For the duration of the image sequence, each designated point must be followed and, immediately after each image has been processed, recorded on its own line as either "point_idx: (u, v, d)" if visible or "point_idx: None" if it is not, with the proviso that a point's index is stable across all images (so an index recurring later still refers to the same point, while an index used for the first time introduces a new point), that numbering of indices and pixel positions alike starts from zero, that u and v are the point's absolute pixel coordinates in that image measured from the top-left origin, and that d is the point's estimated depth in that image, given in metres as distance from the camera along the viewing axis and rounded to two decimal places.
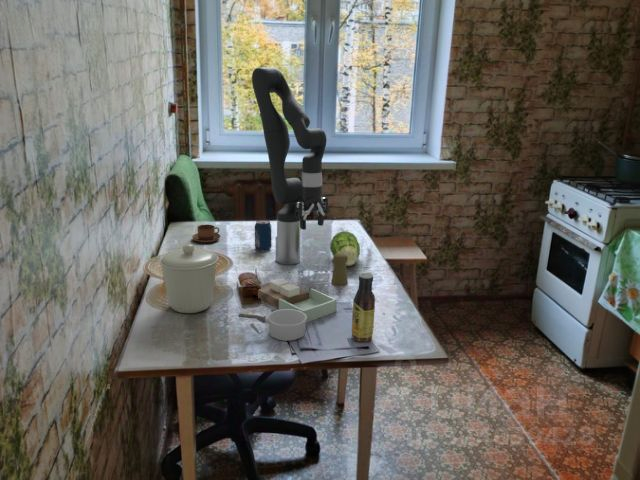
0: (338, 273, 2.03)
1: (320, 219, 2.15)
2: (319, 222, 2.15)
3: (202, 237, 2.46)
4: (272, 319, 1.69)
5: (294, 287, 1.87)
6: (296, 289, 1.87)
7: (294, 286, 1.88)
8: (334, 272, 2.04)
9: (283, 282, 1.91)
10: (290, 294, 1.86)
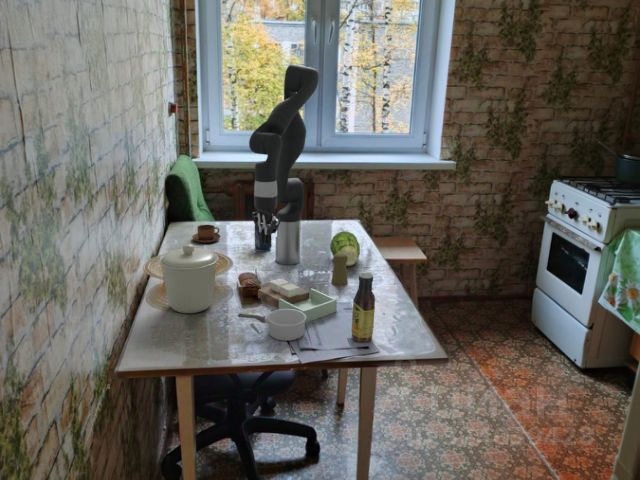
0: (338, 273, 2.03)
1: (265, 236, 1.93)
2: (263, 240, 1.93)
3: (202, 237, 2.46)
4: (272, 319, 1.69)
5: (294, 287, 1.87)
6: (296, 289, 1.87)
7: (294, 286, 1.88)
8: (334, 272, 2.04)
9: (283, 282, 1.91)
10: (290, 294, 1.86)
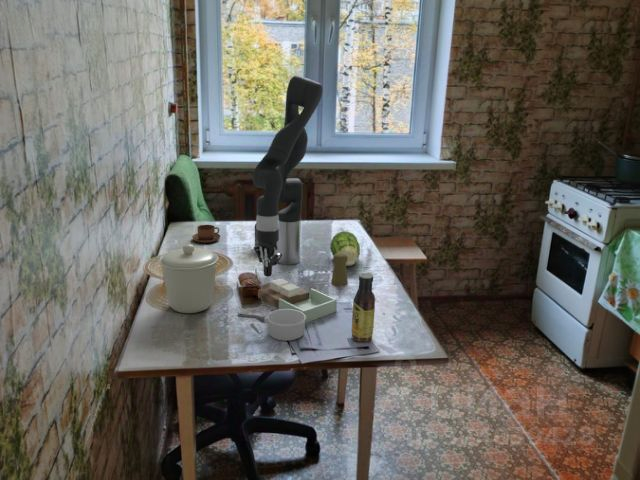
0: (338, 273, 2.03)
1: None
2: None
3: (202, 237, 2.46)
4: (271, 319, 1.69)
5: (294, 287, 1.87)
6: (296, 289, 1.87)
7: (294, 286, 1.88)
8: (334, 272, 2.04)
9: (283, 282, 1.91)
10: (290, 294, 1.86)
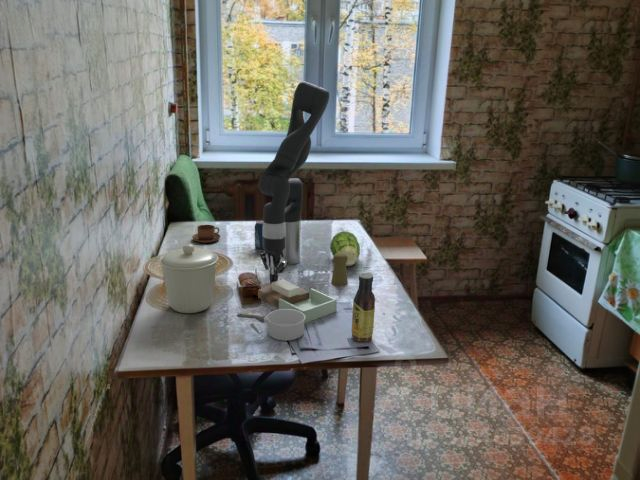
0: (338, 273, 2.03)
1: None
2: None
3: (202, 237, 2.46)
4: (271, 319, 1.69)
5: (294, 287, 1.87)
6: (296, 289, 1.87)
7: (294, 286, 1.88)
8: (334, 272, 2.04)
9: (285, 282, 1.91)
10: (290, 294, 1.86)
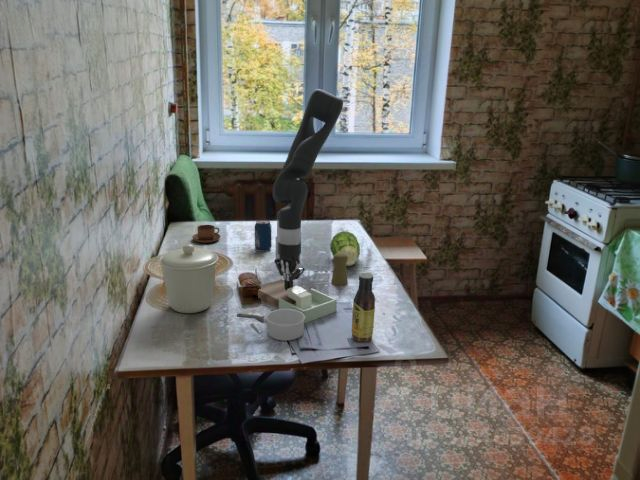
0: (338, 273, 2.03)
1: None
2: None
3: (202, 237, 2.46)
4: (270, 319, 1.69)
5: (308, 305, 1.84)
6: None
7: (309, 303, 1.84)
8: (334, 272, 2.04)
9: (301, 290, 1.85)
10: None
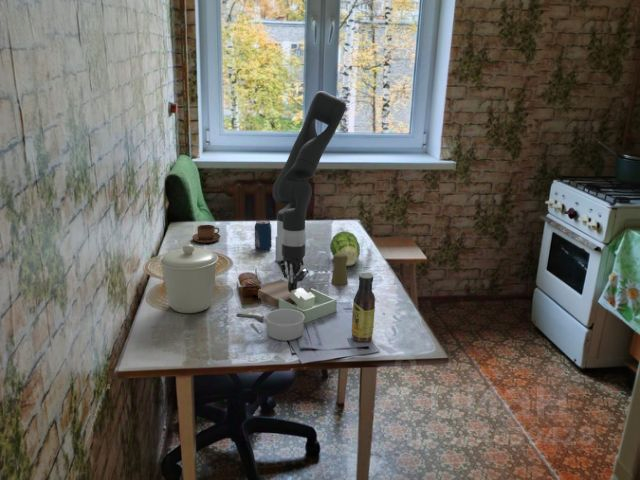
0: (338, 273, 2.03)
1: None
2: None
3: (202, 237, 2.46)
4: (270, 319, 1.69)
5: (309, 306, 1.83)
6: None
7: (311, 304, 1.83)
8: (334, 272, 2.04)
9: None
10: None
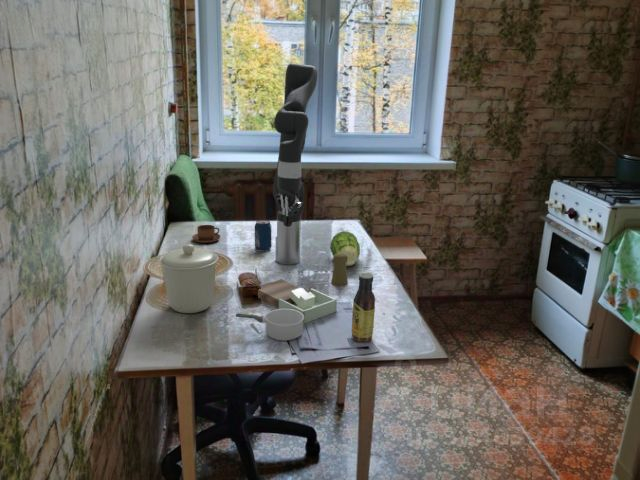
0: (338, 273, 2.03)
1: None
2: None
3: (202, 237, 2.46)
4: (269, 319, 1.69)
5: (309, 306, 1.83)
6: None
7: (311, 304, 1.83)
8: (334, 272, 2.04)
9: None
10: None
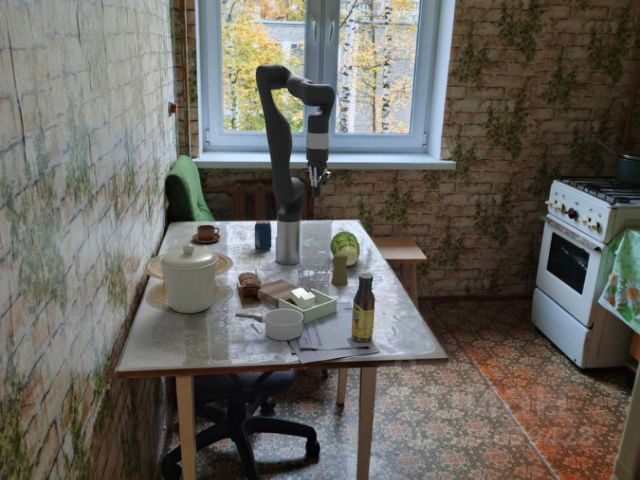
0: (338, 273, 2.03)
1: None
2: None
3: (202, 237, 2.46)
4: (269, 319, 1.69)
5: (309, 306, 1.83)
6: None
7: (311, 304, 1.83)
8: (334, 272, 2.04)
9: None
10: None
